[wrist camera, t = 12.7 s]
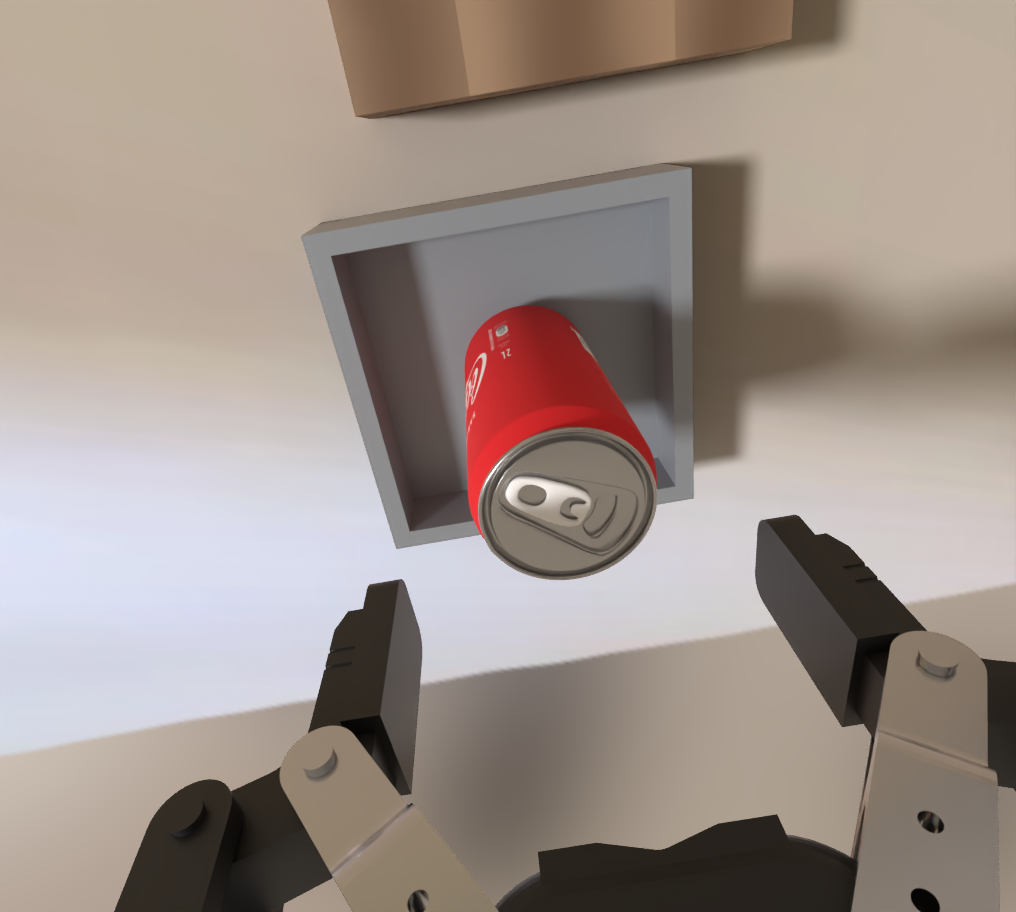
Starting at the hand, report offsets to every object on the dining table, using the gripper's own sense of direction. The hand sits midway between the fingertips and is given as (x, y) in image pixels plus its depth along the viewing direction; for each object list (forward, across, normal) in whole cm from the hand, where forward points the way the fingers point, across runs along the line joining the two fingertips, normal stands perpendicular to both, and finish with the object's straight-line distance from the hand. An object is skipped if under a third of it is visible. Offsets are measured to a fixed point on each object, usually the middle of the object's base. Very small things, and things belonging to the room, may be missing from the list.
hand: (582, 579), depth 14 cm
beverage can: (+15, 0, 0) cm, 15 cm away
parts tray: (+15, 0, 0) cm, 15 cm away
